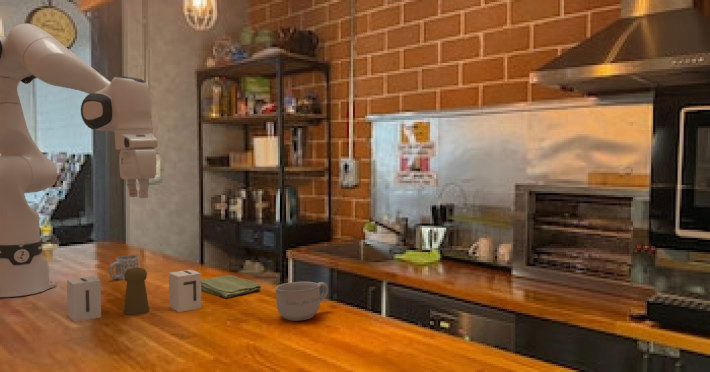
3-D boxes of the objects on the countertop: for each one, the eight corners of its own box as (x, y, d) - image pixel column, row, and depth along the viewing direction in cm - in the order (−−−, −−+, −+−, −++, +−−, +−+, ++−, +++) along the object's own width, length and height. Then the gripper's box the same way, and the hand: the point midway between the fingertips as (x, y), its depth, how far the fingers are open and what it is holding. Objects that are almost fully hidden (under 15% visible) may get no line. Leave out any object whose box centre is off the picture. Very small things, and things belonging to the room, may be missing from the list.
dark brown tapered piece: (140, 316, 133) (139, 271, 132) (118, 314, 134) (117, 270, 133) (154, 309, 139) (153, 266, 138) (132, 307, 140) (131, 265, 139)
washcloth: (226, 301, 148) (226, 289, 148) (191, 290, 160) (191, 279, 160) (264, 292, 158) (264, 281, 158) (228, 282, 170) (228, 272, 169)
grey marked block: (68, 316, 133) (66, 279, 132) (94, 311, 137) (93, 275, 136) (74, 322, 128) (73, 283, 127) (101, 317, 132) (100, 279, 131)
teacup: (284, 327, 125) (284, 292, 124) (269, 314, 134) (269, 282, 134) (339, 318, 131) (339, 285, 131) (321, 307, 141) (321, 276, 140)
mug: (128, 274, 179) (127, 254, 178) (143, 276, 176) (142, 256, 175) (102, 281, 170) (101, 260, 169) (117, 283, 167) (117, 261, 166)
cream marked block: (169, 307, 141) (168, 272, 140) (191, 303, 145) (191, 269, 144) (178, 312, 136) (178, 276, 135) (201, 308, 140) (201, 272, 139)
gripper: (111, 144, 142) (115, 197, 142) (131, 140, 125) (135, 199, 126) (136, 143, 145) (140, 195, 146) (159, 139, 129) (163, 197, 130)
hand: (138, 197), depth 136 cm, fingers open, 8 cm apart
